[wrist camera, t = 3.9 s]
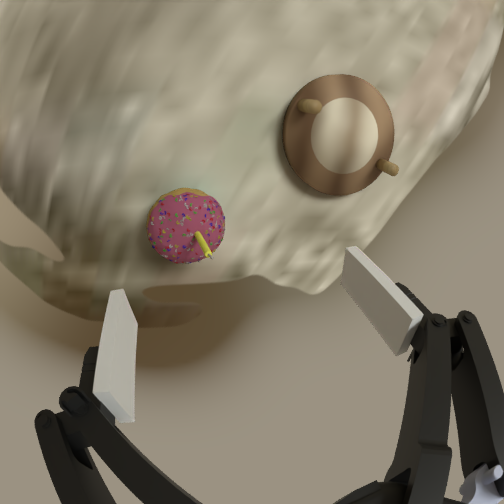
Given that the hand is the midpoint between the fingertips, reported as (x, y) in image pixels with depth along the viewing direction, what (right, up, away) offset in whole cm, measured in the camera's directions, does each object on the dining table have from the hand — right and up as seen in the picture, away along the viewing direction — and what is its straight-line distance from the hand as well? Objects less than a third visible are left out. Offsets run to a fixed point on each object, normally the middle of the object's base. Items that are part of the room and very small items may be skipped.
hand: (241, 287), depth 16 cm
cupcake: (-8, +7, +18) cm, 21 cm away
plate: (+12, +17, +17) cm, 27 cm away
